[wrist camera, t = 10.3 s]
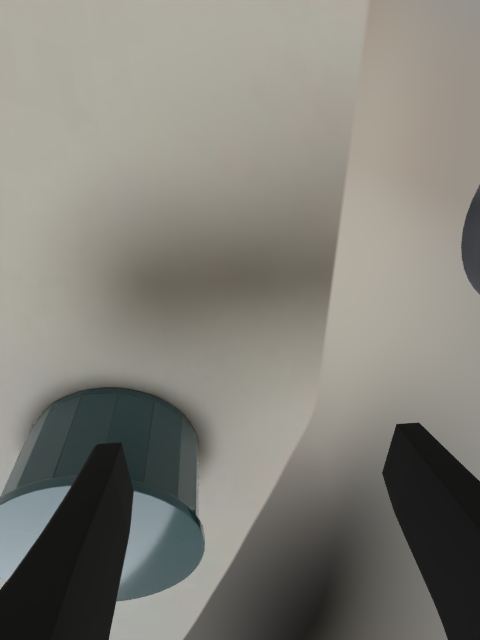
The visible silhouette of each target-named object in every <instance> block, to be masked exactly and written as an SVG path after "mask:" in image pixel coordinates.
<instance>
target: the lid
mask: <svg viewBox="0 0 480 640" xmlns="http://www.w3.org/2000/svg"><path fill="white" fill-rule="evenodd" d="M77 476H78V475H76V476H64V477H55V478H50V479H45V480H40V481H37V482H33V483H30V484H27V485H24V486H22V487H19V488H17V489H15V490H12V491H11V492H9V493H7V494H5V495H4V496H2V497H1V498H0V578H1V579H2V580H4V581H5V582H7V580H8V579H9V578H10V576H11V575H12V574H13V572H14V571H15V570H16V568H17V567H18V565H19V564H20V562H21V561H22V560H23V558H24V557H25V555H26V554H27V553H28V551H29V550H30V548H31V547H32V546H33V544H34V543H35V541H36V540H37V539H38V537H39V536H40V534H41V533H42V531H43V530H44V528H45V527H46V525H47V524H48V522H49V521H50V519H51V517H52V516H53V514H54V513H55V511H56V510H57V508H58V507H59V505H60V504H61V502H62V500H63V499H64V497H65V496H66V494H67V492H68V491H69V489H70V488H71V486H72V484H73V483H74V481H75V479H76V478H77ZM131 482H132V486H133V490H134V493H133V505H132V516H131V526H130V534H129V539H128V545H127V550H126V555H125V560H124V565H123V570H122V575H121V580H120V585H119V590H118V595H117V599H116V601H124V600H130V599H136V598H140V597H144V596H148V595H152V594H155V593H158V592H161V591H163V590H165V589H168V588H170V587H172V586H174V585H176V584H177V583H179V582H181V581H182V580H183V579H185V578H186V577H188V576H189V575H190V574H191V573H192V572H193V571H194V570H195V569H196V567H197V566H198V565H199V563H200V561H201V559H202V557H203V553H204V545H205V535H204V530H203V526H202V524H201V522H200V520H199V518H198V517H197V516H196V514H195V513H194V512H193V511H192V510H191V509H190V508H189V507H188V506H187V505H186V504H185V503H184V502H182V501H181V500H179V499H178V498H176V497H175V496H173V495H171V494H169V493H167V492H165V491H163V490H161V489H158V488H156V487H154V486H151V485H148V484H144V483H141V482H138V481H133V480H131Z"/></svg>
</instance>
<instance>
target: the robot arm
mask: <svg viewBox="0 0 480 640" xmlns="http://www.w3.org/2000/svg"><path fill="white" fill-rule="evenodd" d="M382 474H383V477H384V481H385V484H386V487H387V490H388V494H389V497H390V500H391V503H392V506H393V509H394V512H395V514H396V517H397V519H398V522H399V524H400V526H401V528H402V531H403V533H404V536H405V538H406V540H407V542H408V545H409V547H410V549H411V551H412V553H413V556H414V558H415V560H416V563H417V565H418V567H419V569H420V572H421V574H422V576H423V578H424V581H425V583H426V585H427V587H428V590H429V592H430V594H431V597H432V599H433V601H434V604H435V606H436V608H437V611H438V614H439V616H440V618H441V621H442V624H443V627H444V629H445V632H446V635H447V638H448V640H480V481H479V480H478V479H477V478H475V476H473V475H472V474H471V473H470V472H469V471H468V470H467V469H466V468H465V467H464V466H463V465H462V464H461V463H460V462H459V461H458V460H457V459H456V458H454V456H453V455H451V453H449V452H448V451H447V450H446V449H445V448H444V447H443V446H442V445H441V444H440V443H439V442H438V441H437V440H436V439H435V438H434V437H433V436H432V435H431V434H430V433H429V432H428V431H427V430H426V429H425V428H424V427H423V426H422V425H421V424H420V423H407V424H397V425H396V428H395V431H394V435H393V438H392V441H391V445H390V448H389V452H388V455H387V458H386V462H385V465H384V469H383V472H382ZM133 493H134V490H133V486H132V482H131V478H130V474H129V470H128V466H127V462H126V458H125V454H124V450H123V446H122V442H119V443H104V444H97V445H96V446H95V447H94V448H93V449H92V451H91V453H90V455H89V457H88V458H87V460H86V462H85V464H84V466H83V467H82V469H81V471H80V472H79V474H78V476H77V478H76V479H75V481H74V483H73V484H72V486H71V488H70V489H69V491H68V492H67V494H66V496H65V497H64V499H63V500H62V502H61V504H60V505H59V507H58V508H57V510H56V511H55V513H54V514H53V516H52V517H51V519H50V521H49V522H48V524H47V525H46V527H45V528H44V530H43V531H42V533H41V534H40V536H39V537H38V539H37V540H36V541H35V543H34V544H33V546H32V547H31V548H30V550H29V551H28V553H27V554H26V555H25V557H24V558H23V560H22V561H21V562H20V564H19V565H18V567H17V568H16V570H15V571H14V572H13V574H12V575H11V576H10V578H9V579H8V580H7V582H6V583H5V584H4V586H3V587H2V588H1V590H0V640H109V635H110V629H111V624H112V619H113V614H114V609H115V604H116V599H117V595H118V590H119V585H120V580H121V575H122V570H123V565H124V560H125V555H126V550H127V545H128V539H129V534H130V526H131V516H132V505H133Z"/></svg>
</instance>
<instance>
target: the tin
mask: <svg viewBox="0 0 480 640" xmlns="http://www.w3.org/2000/svg"><path fill="white" fill-rule="evenodd" d="M119 442H122V446H123V450H124V454H125V458H126V462H127V466H128V470H129V474H130V478H131V480H133V481H138V482H141V483H144V484H148V485H151V486H154V487H156V488H158V489H161V490H163V491H165V492H167V493H169V494H171V495H173V496H175V497H176V498H178V499H179V500H181V501H182V502H184V503H185V504H186V505H187V506H188V507H189V508H190V509H191V510H192V511H193V512H194V513H195V514H196V516H197V517H198V518H199V453H198V440H197V435H196V433H195V430H194V428H193V426H192V425H191V423H190V421H189V420H188V419H187V418H186V417H185V416H184V415H183V414H182V413H181V412H180V411H179V410H178V409H176V408H175V407H173V406H172V405H171V404H169V403H167V402H165V401H163V400H161V399H160V398H157V397H154V396H152V395H149V394H146V393H142V392H139V391H134V390H128V389H119V388H100V389H90V390H86V391H81V392H77V393H74V394H71V395H68V396H66V397H64V398H62V399H60V400H58V401H57V402H55V403H53V404H52V405H50V406H49V407H48V408H47V409H46V410H45V411H44V412H43V413H42V414H41V415H40V417H39V418H38V420H37V422H36V423H35V424H34V425H33V426H32V428H31V430H30V433H29V435H28V437H27V439H26V441H25V444H24V446H23V448H22V450H21V452H20V455H19V457H18V459H17V461H16V463H15V466H14V468H13V470H12V472H11V474H10V477H9V479H8V481H7V483H6V485H5V488H4V490H3V492H2V494H1V496H0V498H1V497H2V496H4V495H5V494H7V493H9V492H11V491H12V490H15V489H17V488H19V487H22V486H24V485H27V484H30V483H33V482H37V481H40V480H45V479H50V478H55V477H64V476H76V475H78V474H79V472H80V471H81V469H82V467H83V466H84V464H85V462H86V460H87V458H88V457H89V455H90V453H91V451H92V449H93V448H94V447H95V446H96V445H97V444H104V443H119Z"/></svg>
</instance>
